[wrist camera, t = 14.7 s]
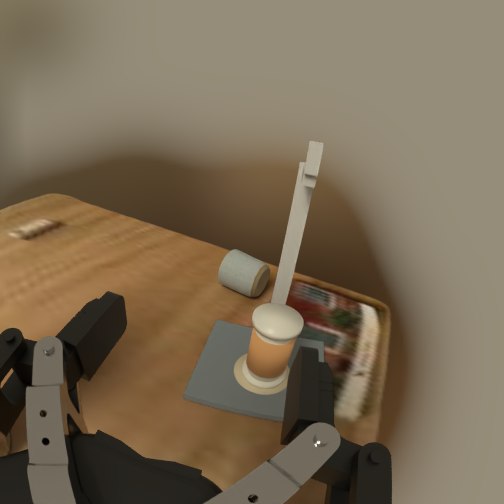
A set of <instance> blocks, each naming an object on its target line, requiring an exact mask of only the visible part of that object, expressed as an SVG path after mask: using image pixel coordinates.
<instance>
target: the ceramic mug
mask: <svg viewBox="0 0 504 504" xmlns="http://www.w3.org/2000/svg"><path fill="white" fill-rule="evenodd" d="M269 275H270V269H269V266H268V265H266V264H265V263H263V262H262V261H260V260H258V259H255V258H253V257H251V256H249V255H247V254H245V253H243V252H241V251H239V250H236V249H234V250H232V251H230V252H229V253H228V254H227V255H226V256H225V258H224V259H223V261H222V263H221V265H220V269H219V273H218V280H219V283H220V284H222V285H224V286H226V287H228V288H230V289H232V290H235V291H237V292H239V293H241V294H244V295H246V296H249V297H253V298H254V297H257V296H259V295H260V294H261V293H262V291H263V290H264V288H265V286H266V284H267V282H268V279H269Z"/></svg>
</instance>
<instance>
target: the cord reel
mask: <svg viewBox="0 0 504 504" xmlns="http://www.w3.org/2000/svg"><path fill="white" fill-rule="evenodd" d="M303 324H304V322H303V318H302V316H301V315H300V314H299V313H298V312H297V311H296V310H295V309H293V308H291V307H289V306H286V305H283V304H279V303H267V304H263V305H260V306H258V307H257V308H256V309H255V310H254V312H253V317H252V325H253V330H252V335H251V340H250V344H249V349H248V354H247V359H246V360H245V361H244V363H243V368H242V374H243V377H244V379H245V380H246V381H247V382H248V383H249V384H251V385H252V386H254V387H257V388H260V389H272V388H275V387H277V386H279V385H280V384H281V383H282V382H283V381H284V378H285V376H286V366H287V364H288V361H289V358H290V355H291V352H292V349H293V347H294V344H295V341H296V338H297V337H298V336H299V335H300V333H301V331H302V328H303Z"/></svg>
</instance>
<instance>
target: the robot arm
mask: <svg viewBox="0 0 504 504" xmlns="http://www.w3.org/2000/svg"><path fill="white" fill-rule="evenodd" d="M126 325H127V318H126V310H125V301H124V297H123V296H121V295H118V294H115V293H112V292H109V291H108V292H106V293H105V294H104V295H103V296H102V297H101V298H100V299H97V298H96V299H94V300H92V301H90V302H88V303H87V304H86V305H85V306H84V307H83V308H82V309H81V311H79V312H78V313H77V314H76V315H75V317H73V318H72V319H71V320H70V322H69V323H68V324H67V325H66V326H65V327H64V328H63V329H62V330H61V331H60V332H59V333H58V334H57V336H56V337H52V336H48V337H44V338H42V339H40V340H39V341H38V342H37V341H32V340H28V339H24V337H23V335H22V333H21V331H20V330H19V329H16V328H9V329H6V330H5V331H3V332H2V333H1V334H0V385H1V382H2V380H3V379H4V377H5V376H6V375H7V373H8V372H9V371H10V369H11V368H12V369H13V371H14V372H13V373H12V374H11V376H10V377H9V378H8V380H7V381H6V383H5V384H4V385H3V387H2V388H1V389H0V504H283V503H285V502H286V501H287V500H288V499H289V498H290V497H291V496H293V495H294V494H295V493H296V492H297V491H298V490H299V489H300V488H301V486H302V485H303V484H304V483H305V482H306V481H307V480H308V479H309V478H312V479H315V480H317V481H320V482H323V483H325V484H327V490H326V498H325V504H392V471H391V469H392V468H391V455H390V452H389V450H388V449H387V448H386V447H385V446H383V445H382V444H379V443H375V442H373V443H368V444H366V445H364V446H360V445H358V444H355V443H352V442H349V441H347V440H345V439H344V438H342V437H341V436H340V435H339V433H338V431H337V430H336V429H335V426H334V403H333V385H332V384H333V378H332V371H331V369H330V368H329V366H328V364H327V363H325V362H319V351H318V349H316V348H311V347H305V346H300V348H299V350H298V352H297V355H296V357H295V359H294V362H293V364H292V366H291V369H290V372H289V375H288V381H287V391H286V400H285V409H284V418H283V426H282V434H281V442H280V444H282V445H287V446H286V447H285V448H284V449H283V450H281V451H280V452H279V453H278V454H277V455H275V456H274V457H273V458H271V459H270V460H267V461H265V462H264V463H263V464H261V465H260V466H259V467H257V468H256V469H255V470H253V471H252V472H250V473H249V474H248V475H246V476H245V477H244V478H242V479H241V480H239V481H238V482H236V483H235V484H233V485H232V486H230V487H229V488H227V489H226V490H224V491H222V490H221V489H220V488H219V487H218V486H217V485H216V484H214V483H213V482H212V481H210V480H209V479H207V478H206V477H204V476H202V475H201V473H202V470H199V469H196V468H192V467H189V466H186V465H183V464H179V463H176V462H172V461H164V460H156V459H150V458H145V457H143V456H141V455H140V454H138V453H137V452H135V451H134V450H133V449H131V448H130V447H129V446H127V445H126V444H125V443H123V442H122V441H120V440H118V439H116V438H114V437H112V436H110V435H108V434H106V433H104V432H102V431H100V430H98V431H97V432H96V434H89V433H88V430H87V427H86V425H85V422H84V419H83V413H82V406H81V399H80V390H79V383H78V381H79V380H80V378H81V377H82V378H83V379H85V380H87V381H90V380H91V378H92V377H93V375H94V374H95V372H96V371H97V369H98V368H99V367H100V365H101V364H102V362H103V361H104V360H105V358H106V357H107V355H108V354H109V353H110V351H111V350H112V348H113V347H114V346H115V344H116V343H117V342H118V340H119V339H120V337H121V336H122V335H123V333H124V332H125V329H126ZM25 405H26V427H27V441H28V449H27V450H24V451H20V452H17V453H13V454H9V451H10V445H11V439H10V432H9V431H10V430H11V428H12V426H13V425H14V423H15V421H16V420H17V418H18V416H19V415H20V413H21V411H22V410H23V408H24V407H25ZM8 454H9V455H8Z"/></svg>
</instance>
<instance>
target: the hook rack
mask: <svg viewBox="0 0 504 504" xmlns="http://www.w3.org/2000/svg"><path fill="white" fill-rule="evenodd" d="M323 145H324V144H323V143H319V142H314V141H310V143H309V148H308V154H307V160H306V163H304V162H300V166H299V171H298V176H297V181H296V187H295V192H294V197H293V202H292V207H291V212H290V217H289V222H288V227H287V232H286V237H285V241H284V246H283V250H282V255H281V260H280V265H279V269H278V273H277V278H276V282H275V287H274V291H273V296H272V300H271V303H279V304H283V305H285V304H286V300H287V296H288V292H289V289H290V285H291V281H292V277H293V273H294V269H295V265H296V260H297V256H298V252H299V248H300V244H301V239H302V235H303V230H304V226H305V222H306V218H307V213H308V209H309V204H310V199H311V195H312V190H313V188H314V187H315V182H316V178H317V175H318V171H319V166H320V161H321V156H322V151H323ZM252 330H253V328H250V327H246V326H242V325H237V324H233V323H229V322H225V321H221V320H216V323H215V325H214V327H213V329H212V331H211V334H210V336H209V338H208V340H207V343H206V345H205V347H204V349H203V352H202V354H201V356H200V358H199V361H198V363H197V365H196V367H195V370H194V372H193V374H192V376H191V378H190V381H189V383H188V385H187V387H186V390H185V392H184V399H186V400H189V401H192V402H196V403H199V404H203V405H206V406H210V407H214V408H217V409H221V410H225V411H229V412H234V413H238V414H242V415H247V416H252V417H257V418H262V419H267V420H273V421H279V422H283V418H284V409H285V400H286V391H287V381H288V375H289V372H290V369H291V366H292V364H293V362H294V359H295V357H296V355H297V352H298V350H299V348H300V346H305V347H311V348H316V349H318V351H319V362H324V342H321V341H316V340H310V339H304V338H299V337H297V338H296V341H295V344H294V347H293V349H292V352H291V355H290V358H289V361H288V364H287V366H286V376H285V378H284V381H283V382H282V383H281V384H280V385H279V386H277V387H275V388H272V389H260V388H257V387H254V386H252V385H251V384H249V383H248V382H247V381H246V380H245V379H244V377H243V374H242V368H243V363H244V361H245V360H246V359H247V354H248V349H249V344H250V340H251V335H252Z"/></svg>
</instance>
